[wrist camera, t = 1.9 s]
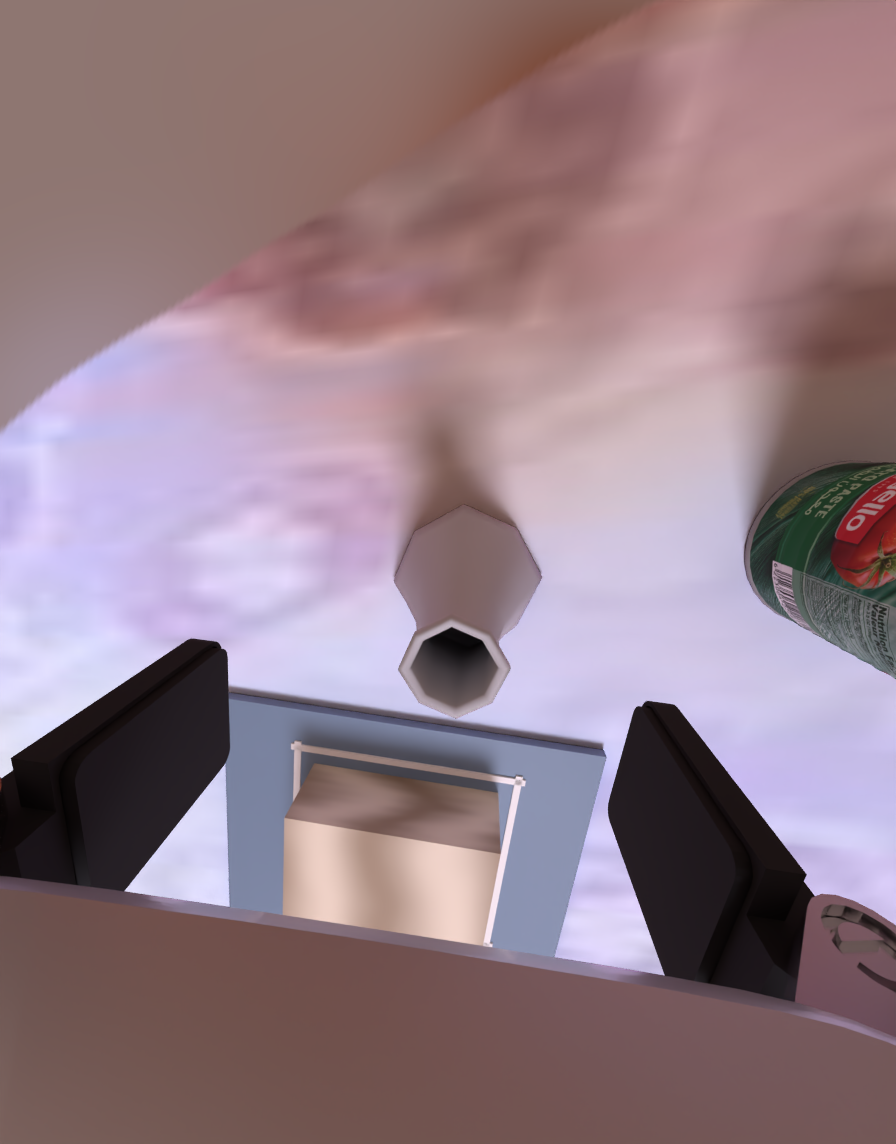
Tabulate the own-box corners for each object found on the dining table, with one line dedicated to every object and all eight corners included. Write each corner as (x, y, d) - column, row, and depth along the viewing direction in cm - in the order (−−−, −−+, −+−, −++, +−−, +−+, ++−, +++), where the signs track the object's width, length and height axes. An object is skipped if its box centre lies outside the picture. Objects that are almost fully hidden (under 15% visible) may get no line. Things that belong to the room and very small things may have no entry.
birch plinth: (498, 792, 25) (500, 854, 21) (473, 929, 28) (471, 1005, 24) (314, 763, 26) (284, 818, 22) (309, 901, 29) (281, 970, 25)
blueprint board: (603, 749, 24) (606, 758, 24) (546, 971, 29) (547, 984, 29) (229, 692, 26) (222, 698, 25) (235, 916, 30) (229, 926, 30)
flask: (463, 477, 21) (445, 497, 12) (567, 574, 22) (630, 669, 12) (371, 579, 23) (289, 670, 13) (470, 666, 24) (460, 810, 14)
